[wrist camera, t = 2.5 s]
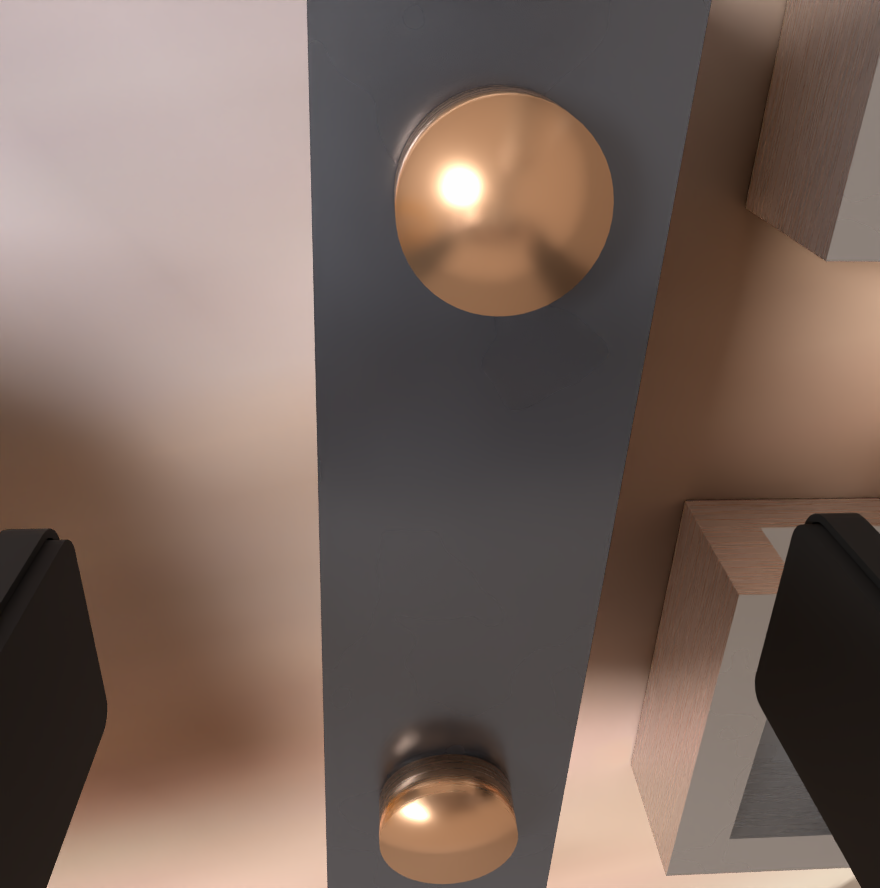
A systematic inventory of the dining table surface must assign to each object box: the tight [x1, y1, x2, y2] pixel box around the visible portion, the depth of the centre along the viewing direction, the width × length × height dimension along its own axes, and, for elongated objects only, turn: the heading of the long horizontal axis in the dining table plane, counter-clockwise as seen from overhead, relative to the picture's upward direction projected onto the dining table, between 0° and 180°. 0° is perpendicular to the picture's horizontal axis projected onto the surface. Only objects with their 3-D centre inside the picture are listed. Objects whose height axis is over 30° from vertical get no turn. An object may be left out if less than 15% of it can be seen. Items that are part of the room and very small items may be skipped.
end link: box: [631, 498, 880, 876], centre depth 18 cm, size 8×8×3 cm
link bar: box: [307, 0, 711, 888], centre depth 13 cm, size 14×4×7 cm, turn 177°
